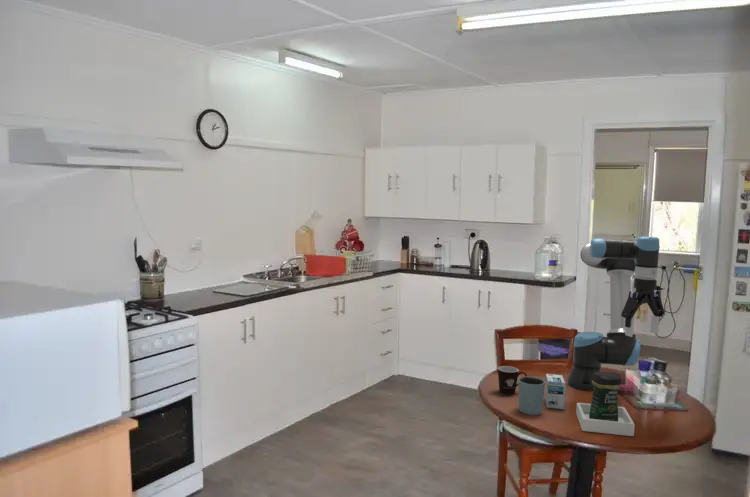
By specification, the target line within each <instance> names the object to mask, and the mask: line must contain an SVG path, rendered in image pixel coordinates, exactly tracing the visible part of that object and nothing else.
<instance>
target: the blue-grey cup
mask: <svg viewBox="0 0 750 497" xmlns="http://www.w3.org/2000/svg"><path fill="white" fill-rule="evenodd" d="M517 384H518V386H517V387H518V410H519V411H520V412H521V413H523V414H525V415H530V416H537V415H541V414H542V412H543V405H544V398H545V389H546V380H544V379H542V378H539V377H536V376H527V377H525V376H520V377H518V378H517Z"/></svg>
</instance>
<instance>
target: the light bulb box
mask: <svg viewBox="0 0 750 497" xmlns="http://www.w3.org/2000/svg"><path fill="white" fill-rule="evenodd" d="M544 400H545V404H546V408H548V409H558V410H565V402H566V401H565V400H566V380H565V378H564V377H563V375H562V374H555V373H545V389H544Z"/></svg>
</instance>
